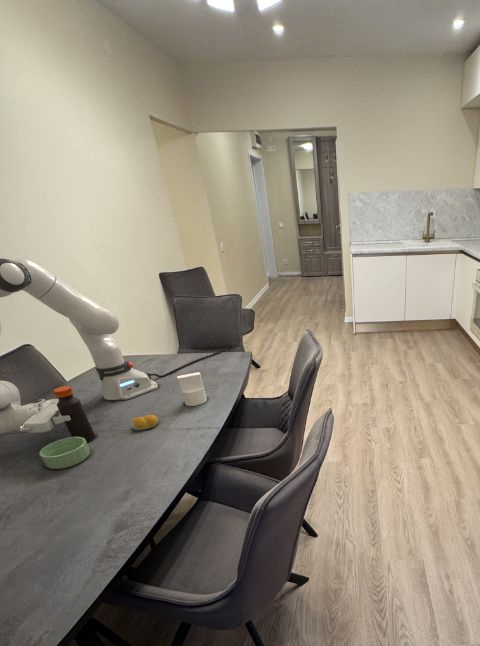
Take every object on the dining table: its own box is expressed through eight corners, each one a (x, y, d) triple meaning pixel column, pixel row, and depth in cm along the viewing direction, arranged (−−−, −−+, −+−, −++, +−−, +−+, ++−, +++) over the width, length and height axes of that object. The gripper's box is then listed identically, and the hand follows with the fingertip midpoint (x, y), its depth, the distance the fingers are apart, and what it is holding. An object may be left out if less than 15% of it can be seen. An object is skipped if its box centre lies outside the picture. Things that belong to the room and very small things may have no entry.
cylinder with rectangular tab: (205, 395, 173) (199, 369, 167) (208, 402, 166) (201, 376, 160) (184, 399, 170) (176, 373, 164) (185, 407, 162) (177, 380, 156)
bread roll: (160, 426, 149) (157, 416, 147) (135, 433, 145) (131, 423, 143) (157, 418, 155) (154, 409, 153) (132, 424, 151) (129, 415, 149)
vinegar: (78, 436, 145) (55, 386, 135) (98, 433, 146) (76, 384, 136) (71, 445, 139) (46, 394, 129) (91, 442, 140) (69, 391, 130)
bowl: (86, 444, 139) (80, 432, 136) (95, 458, 131) (89, 445, 128) (43, 459, 131) (36, 447, 129) (50, 475, 123) (43, 461, 121)
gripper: (10, 423, 124) (58, 417, 127) (42, 397, 142) (83, 392, 144) (20, 439, 128) (66, 434, 130) (49, 412, 145) (89, 407, 147)
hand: (75, 412), depth 137 cm, fingers closed on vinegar, 7 cm apart
